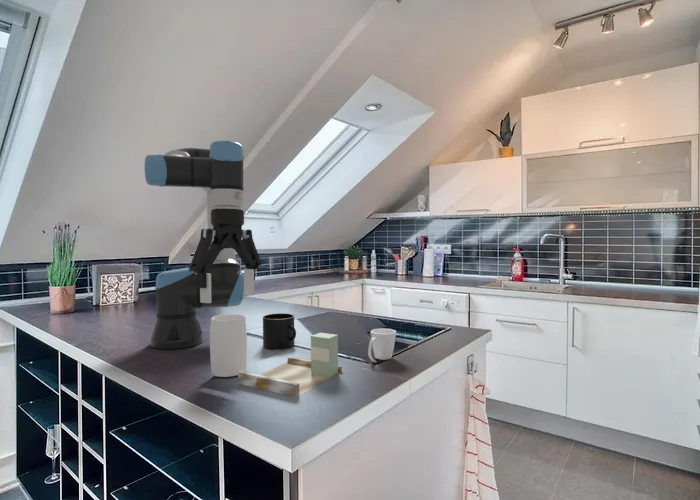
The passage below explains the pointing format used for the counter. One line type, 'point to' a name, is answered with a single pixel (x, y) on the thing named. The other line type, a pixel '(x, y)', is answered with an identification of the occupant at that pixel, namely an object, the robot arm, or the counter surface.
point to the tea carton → (324, 354)
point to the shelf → (285, 378)
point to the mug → (278, 331)
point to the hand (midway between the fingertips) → (228, 298)
